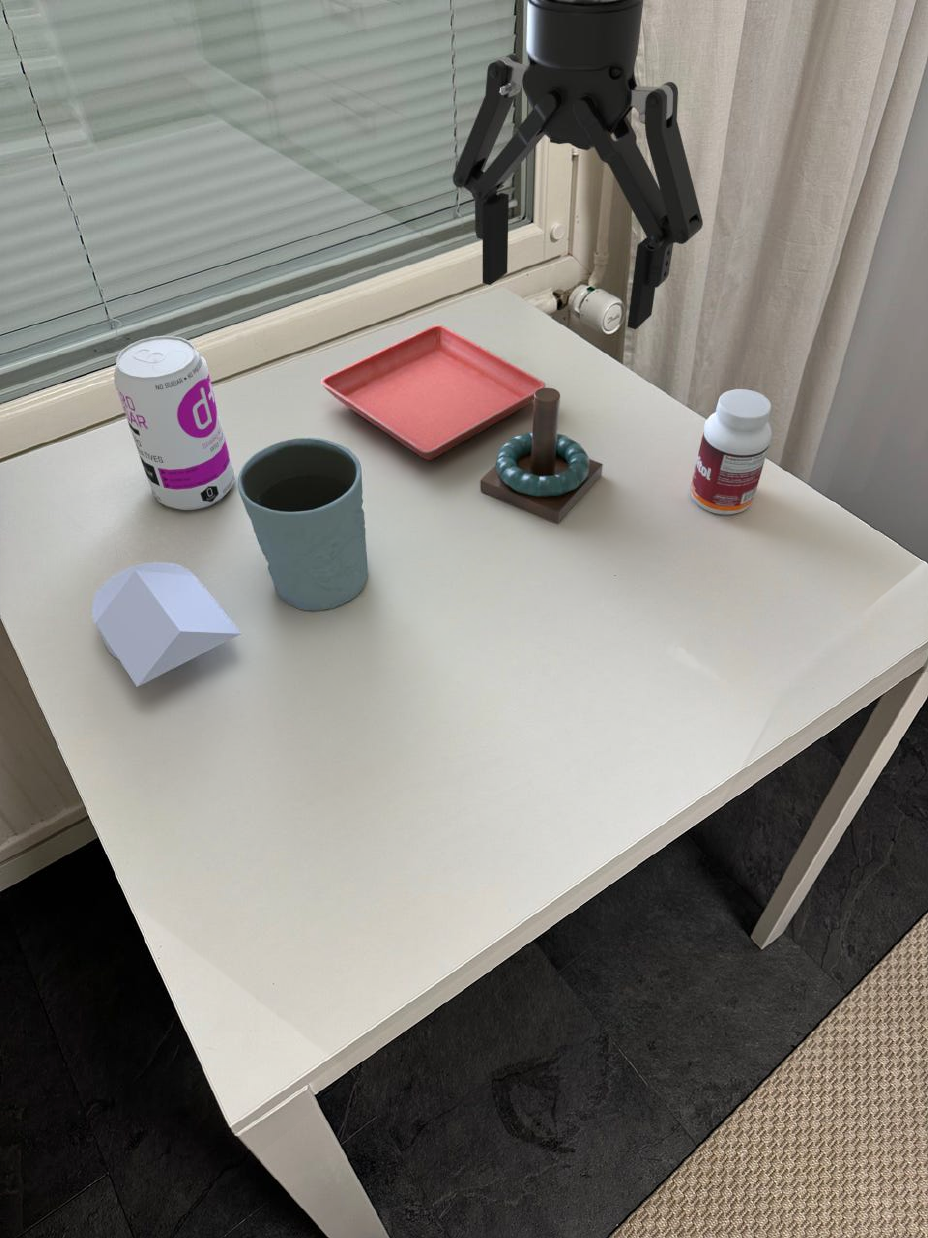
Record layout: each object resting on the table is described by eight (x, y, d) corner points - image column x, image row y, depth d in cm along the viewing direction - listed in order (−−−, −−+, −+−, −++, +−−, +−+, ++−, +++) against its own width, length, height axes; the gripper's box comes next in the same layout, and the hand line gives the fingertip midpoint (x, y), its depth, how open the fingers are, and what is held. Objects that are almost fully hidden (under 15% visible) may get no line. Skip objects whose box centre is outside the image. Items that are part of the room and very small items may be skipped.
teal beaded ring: (604, 462, 90) (606, 446, 89) (558, 513, 85) (559, 497, 84) (527, 433, 94) (528, 417, 92) (478, 480, 89) (477, 463, 87)
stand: (601, 475, 91) (613, 386, 84) (557, 524, 86) (565, 434, 79) (526, 446, 95) (531, 358, 87) (480, 491, 90) (480, 402, 82)
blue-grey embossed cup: (381, 607, 79) (369, 502, 70) (266, 626, 78) (239, 522, 69) (365, 533, 86) (352, 429, 77) (259, 549, 84) (233, 445, 75)
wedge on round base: (249, 660, 75) (182, 574, 82) (233, 605, 70) (163, 519, 77) (148, 713, 71) (87, 618, 78) (124, 658, 66) (61, 563, 73)
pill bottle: (686, 476, 91) (707, 381, 83) (748, 478, 91) (774, 384, 83) (691, 515, 87) (714, 420, 79) (756, 518, 86) (785, 423, 78)
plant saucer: (547, 408, 100) (549, 382, 97) (427, 478, 91) (426, 452, 89) (439, 347, 109) (438, 322, 106) (320, 406, 100) (316, 380, 98)
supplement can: (251, 474, 92) (220, 343, 81) (203, 523, 87) (163, 389, 76) (187, 455, 94) (148, 325, 83) (137, 501, 89) (89, 369, 78)
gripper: (397, -24, 60) (415, 278, 76) (747, 27, 51) (685, 362, 66) (460, -45, 65) (464, 245, 80) (794, -2, 55) (726, 320, 70)
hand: (564, 299), depth 73 cm, fingers open, 13 cm apart
